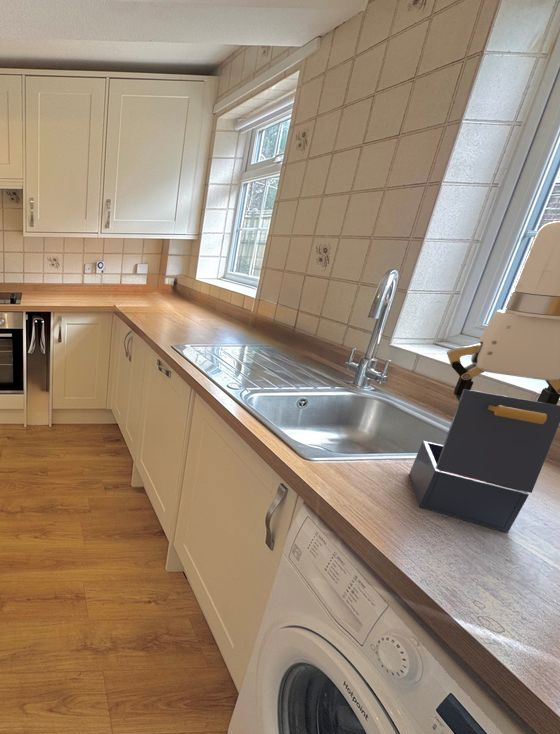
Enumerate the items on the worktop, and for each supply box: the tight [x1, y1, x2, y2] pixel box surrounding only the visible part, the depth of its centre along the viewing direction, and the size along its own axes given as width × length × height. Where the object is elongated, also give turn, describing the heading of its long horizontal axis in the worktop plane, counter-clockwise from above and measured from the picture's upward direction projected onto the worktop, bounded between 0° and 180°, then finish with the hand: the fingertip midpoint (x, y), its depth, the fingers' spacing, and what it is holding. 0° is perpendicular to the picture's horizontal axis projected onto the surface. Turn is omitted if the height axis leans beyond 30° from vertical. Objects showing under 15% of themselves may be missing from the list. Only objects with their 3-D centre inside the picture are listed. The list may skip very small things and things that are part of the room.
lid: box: [436, 389, 560, 494], centre depth 64 cm, size 14×11×6 cm
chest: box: [409, 440, 530, 534], centre depth 74 cm, size 13×11×8 cm
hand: (498, 406), depth 70 cm, fingers open, 9 cm apart
